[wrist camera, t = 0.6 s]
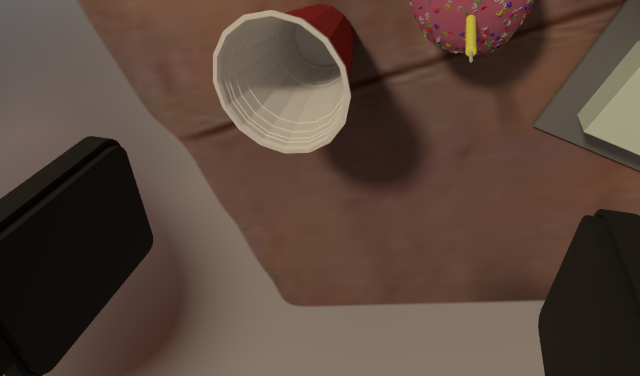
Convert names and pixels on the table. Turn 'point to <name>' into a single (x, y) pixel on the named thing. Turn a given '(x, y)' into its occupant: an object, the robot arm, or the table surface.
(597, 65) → the mat
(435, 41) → the cupcake
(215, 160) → the table surface
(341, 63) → the plastic cup
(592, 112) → the block
